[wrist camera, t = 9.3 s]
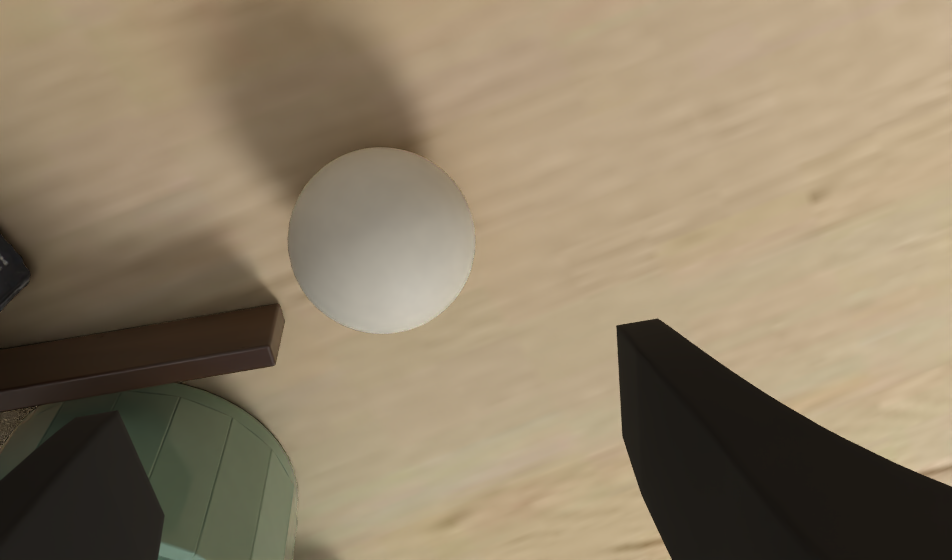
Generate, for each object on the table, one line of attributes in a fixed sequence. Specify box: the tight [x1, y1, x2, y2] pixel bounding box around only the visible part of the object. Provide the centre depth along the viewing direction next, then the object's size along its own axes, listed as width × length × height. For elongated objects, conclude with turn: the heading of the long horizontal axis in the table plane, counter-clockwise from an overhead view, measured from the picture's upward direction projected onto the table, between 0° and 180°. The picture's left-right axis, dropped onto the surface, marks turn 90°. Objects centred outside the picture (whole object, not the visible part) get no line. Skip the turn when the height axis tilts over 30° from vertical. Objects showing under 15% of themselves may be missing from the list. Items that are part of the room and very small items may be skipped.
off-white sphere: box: [288, 147, 476, 334], centre depth 17 cm, size 4×4×4 cm
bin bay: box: [0, 304, 285, 412], centre depth 21 cm, size 11×10×2 cm
